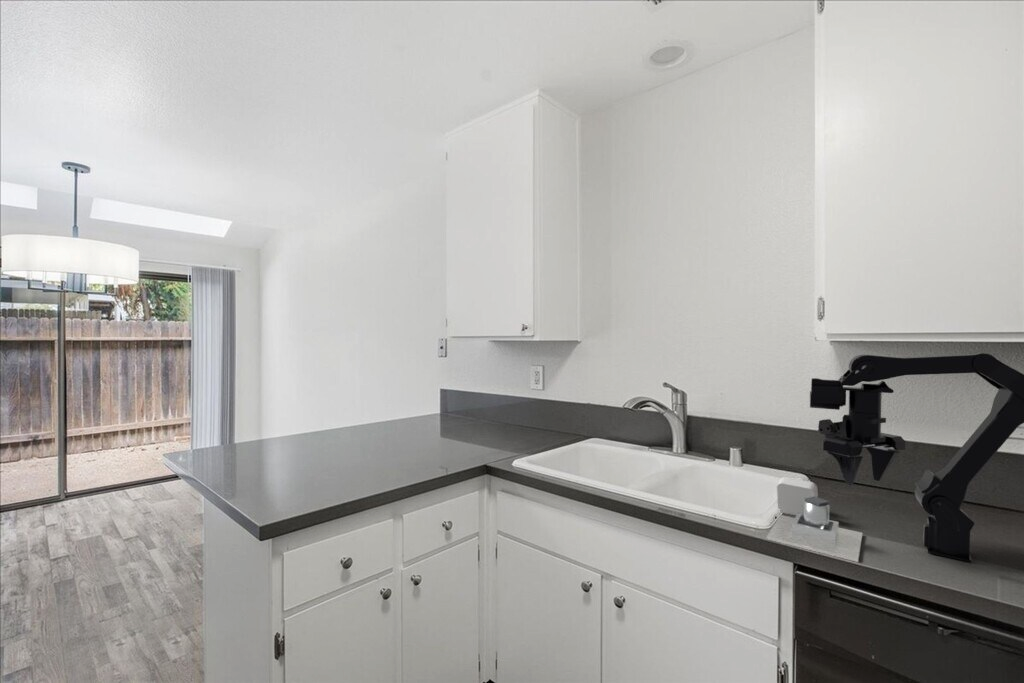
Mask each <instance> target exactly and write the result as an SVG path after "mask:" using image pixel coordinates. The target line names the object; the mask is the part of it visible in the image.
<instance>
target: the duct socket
mask: <svg viewBox="0 0 1024 683" xmlns="http://www.w3.org/2000/svg"><path fill="white" fill-rule="evenodd" d="M839 524H840V523H839V521H836V520H832V519H829V531H828V530H824V529H819V528H815V527H810V526H806V525H804V515H803V514H799V513H798V514H797V515H796V516H794V517H792V516H787V515H783V514H780V515H779V516H778V518H777V520H776V521H775V523H774V524H773V526H772V528H771V529H770V531H769V532H768V534H767V535H766V540H769V541H773V542H777V543H779V544H785V545H788V546H793V547H797V548H800V549H805V550H807V551H808V550H809V551H814V552H817V553H820V554H823V555H828V556H833V557H836V558H840V559H843V560H844V559H845V560H848V561H852V562H856V563H859V559H860V553H861V547H862V541H863V532H861V531H857V530H852V529H847V528H844V527H839Z"/></svg>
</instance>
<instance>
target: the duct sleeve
mask: <svg viewBox="0 0 1024 683" xmlns="http://www.w3.org/2000/svg"><path fill="white" fill-rule="evenodd" d="M829 520H830V501H829V500H826V499H823V498H820V497H815V496H814V497H809V498H805V501H804V525H806V526H810V527H815V528H819V529H824V530H828V531H829Z"/></svg>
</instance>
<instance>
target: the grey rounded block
mask: <svg viewBox="0 0 1024 683" xmlns="http://www.w3.org/2000/svg"><path fill="white" fill-rule="evenodd" d="M818 489H819V488H818V486H817V484H816V483H814V481H813V482H812V481H810V480H809V481H808V480H806V479H804V478H803V477H797V478H792V477H787V476H785V477H781V478H780V480H779V482H778V483H777V486H776V493H777V494H776V496H777V509H778V508H779V509H781V511H782V512H781V511H780V512H781V513H783V514H787V515H791V516H794V517H796V515H797V514H798V513H799V514H803V515H804V501H805V498H809V497H814V496H815V497H818V495H819V494H818V493H819V492H818ZM818 498H819V497H818ZM779 509H778V510H779Z"/></svg>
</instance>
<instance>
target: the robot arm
mask: <svg viewBox="0 0 1024 683" xmlns="http://www.w3.org/2000/svg"><path fill="white" fill-rule="evenodd" d="M974 373H975V374H976V375H978V376H979V377H980V378H982V379H983V380H984V381H986V382H987V383H988V384H990V385H991V386H993V387H995V389H997V392H996V394H995V396H994V398H993V401H992V405H991V409H990V412H989V414H988V415H987V416H986V417H985V419H984V420H983V421H982V423H980V425H979V426H978V427H977V428H976V429H975V431H974V432H973V433H972V434H971V435H970V436H969V437H968V439H967V440H965V441H966V442H964V444H963V445H962V447H960V448H959V449H958V451H957V452H956V453H955V454H954V456H953V457H952V458H951V459H950V461H949V462H948V463H947V464H946V466H945V467H943V468H942V469H940V470H939V471H936V472H935V473H933V472H932V471H930V469H926V470H925V471H924V473H923V475H922V477H921V478H920V479H919V480H918V481H916V482H914V485H915V490H914V496H915V499H916V500H917V502H918V503H919V505H921V507H922V509H923V510H924V511H925V512H926V513H928V515H930V516H927V523H923V541H922V542H923V546H924V547H925V548H926V553H929V554H933V555H937V556H941V557H945V558H949V559H954V560H958V561H959V560H960V561H964V562H966V563H967V562H968V563H972V557H971V531H972V530H973V527H974V526H975V522H974V521H973V520H972V519H971V518H970V516H968V514H967V513H966V512H965V511H964V510H963V509H962V508H961V507H962V505H963V503H964V501H965V499H966V495H967V491H968V488H969V486H970V484H971V482H972V481H973V479H975V477H976V476H977V475H978V474H979V473H980V471H981V470H982V469H983V468H984V467H985V465H987V464H988V462H989V461H990V460H991V459H992V457H994V455H995V454H996V453H997V452H998V450H999V449H1000V448H1001V447H1002V446H1003V445H1004V444H1005V442H1006V441H1007V440H1008V439H1009V438H1010V436H1011V435H1012V434H1013V433H1014V432H1015V431H1016V429H1017V428H1019V427H1020V426H1021V425H1023V424H1024V373H1022V372H1020V371H1018V370H1016V369H1015V368H1012V367H1010V366H1009V365H1007V364H1006V363H1003V362H1002V361H1000V360H998V358H996V356H994V355H992V354H989V353H985V352H984V353H983V352H974V353H970V354H969V353H968V354H954V355H951V354H949V355H933V356H932V355H929V356H911V357H896V356H888V355H887V356H886V355H878V354H877V355H875V354H865V353H864V354H862V353H861V354H858V355H856V356H854V357H853V358H851V360H850V361H849V363H848V369H847V370H846V372H844V374H843V375H841V376H840V378H839V379H822V378H817V377H816V378H815V377H814V378H813V377H812V378H811V383H810V384H811V385H810V391H809V408H810V409H811V408H812V409H822V410H826V409H827V410H834V411H837V410H838V411H840V408H841V407H845V406H846V404H847V403H846V402H847V391H848V414H844V415H842V421H836V422H833V421H832V420H831V419H829V418H827V419H821V420H818V429H817V431H818V432H819V433H820V434H821V435H823V436H824V439H823V440H822V447H821V450H823V451H825V452H827V454H829V455H831V456H832V457H833V458H834V459H835V460H836V463H838V466H839V468H840V471H841V474H842V477H843V479H844V483H845V484H846V486H847V485H848V486H853V484H854V482H855V479H856V476H857V474H858V471H859V468H860V466H861V463H862V460H863V455H862V456H861V454H862V452H863V449H866V450H867V451H868V453H869V454H870V457H871V467H872V468H871V469H872V476H873V480H874V481H877V482H880V481H882V478H883V477H884V476H885V474H886V473H887V471H888V470H889V468H890V466H891V465H892V464H893V462H894V461H895V460H896V458H897V457H898V456H899V455H900V454H901V453H902V451H903V450H904V451H905V450H906V440H905V439H904V438H903V437H902V436H901V435H897V434H896V435H895V434H890V433H885V432H882V424H885V423H886V422H887V418H886V417H882V397H883V396H882V394H883V393H884V394H893V393H894V392H895V391H894V389H893V388H891V387H890V386H888V385H887V383H886V382H885V381H884V380H888V379H893V378H898V377H903V376H919V375H946V374H947V375H948V374H951V375H952V374H974ZM878 381H880V382H879V383H870V382H878ZM862 382H864V383H862ZM866 382H867V383H866ZM860 383H861V385H860V387H857V386H856V385H858V384H860ZM853 386H854V387H853ZM855 386H856V387H855Z"/></svg>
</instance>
